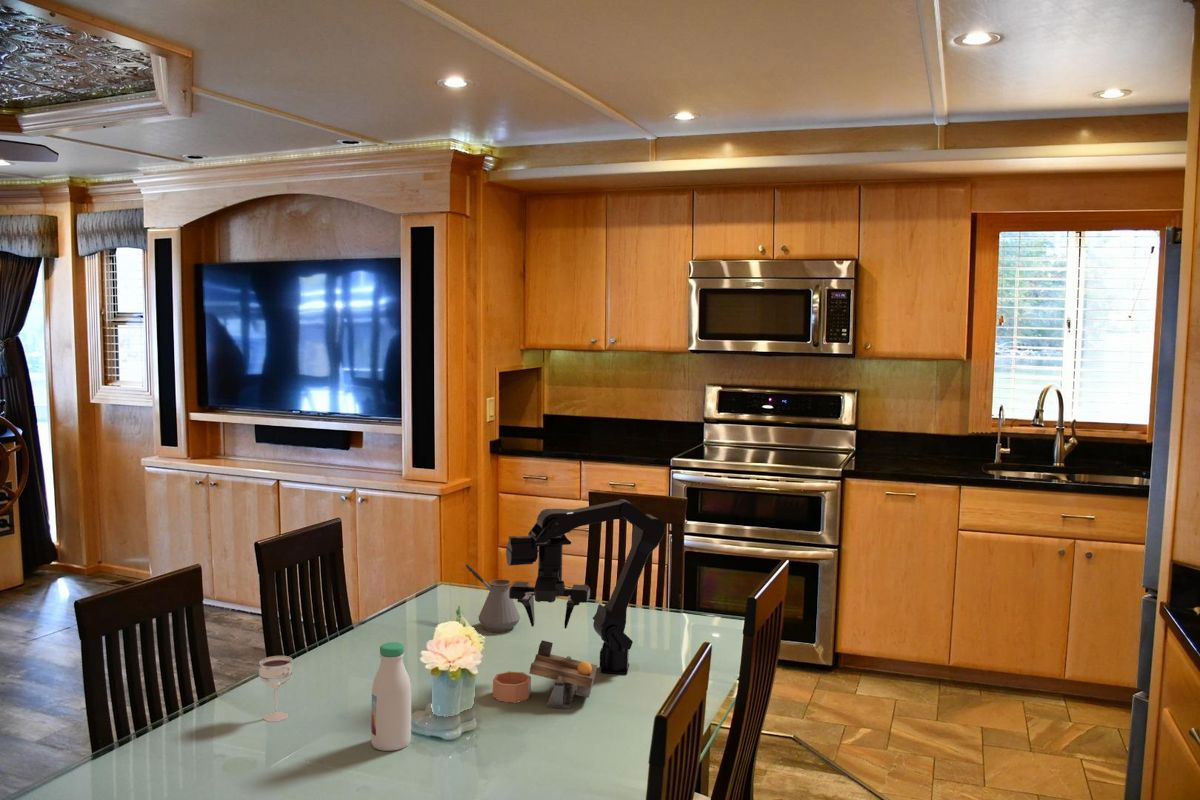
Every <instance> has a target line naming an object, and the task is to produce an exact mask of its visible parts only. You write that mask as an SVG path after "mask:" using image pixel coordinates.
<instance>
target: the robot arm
mask: <svg viewBox="0 0 1200 800" xmlns="http://www.w3.org/2000/svg"><path fill="white" fill-rule="evenodd" d="M619 519H625V520H626V521H627V522H628V523H630V524H631V525H632V526H633V527H632V528H633V529H632V532H631V547H630V549H629V553H628V554H627V557H626V559H625V562H624V564H623V567H622V570H620V571H621V572H620V574H619V576H618V579H617V581H616V584H615V586H614V589H613V592H612V594H611V595H610V598H609V600H608V601H607V602H606V603H605V604H604V605H602V604H601V603H600V604H599V603H598V606H597V609H596V613H595V614H594V615H593V617H592V620H593V629H594V631H595V633H596V634H597V635H598V636H599V637H600V638H601V641H603V643H602V645H601V646H602V647H601V648H600V650H599V668H600V673H602V674H614V675H615V674H616V675H617V674H618V675H627V674H628V672H629V669H630V663H629V657H630V656H629V652H630V650H631V648H632V646H633V639H631V638H630V637H629V636H628V635H627V634H626V633H625V629H626V624H627V612H628V611H627V610H628V606H629V604H630V601H631V599H632V597H633V594H634V592H635V589H636V586H637V585H638V583H639V579H640V577H641V574H642V572H643V569H644V568H645V565H646V562H647V560H648V558H649V555H651V553H652V552H653V551H655V549H657V547H658V546H659V544H660V543H661V541H662V539H663V538H664V536H665V533H666V528H665V525H664V523H663V522H662V520H660V519H658V518H657V517H655V516H653V515H651V514H648V513H644V512H643V511H641V510H640V509H638V508H637V507H636V506H634V505H633V503H632V502H630V501H628V500H626V499H624V498H623V499H622V498H620V499H617V500H615V501H609V502H605V503H600V504H593V505H589V506H585V507H579V508H572V509H571V508H569V509H567V508H546V509H542V510H541V511H540V512H539V514H538V515H537V518H536V522H535V523H534V525H533V526H532V527H531V530H529V532H528V534H527V535H524V536H523V535H521V536H517V535H510V536H508V542H507V545H506V548H505V556H506V563H507V565H508V566H510V567H512V566H528V565H533V564H534V563H536V562H537V560H538V562H537V563H538V564H537V566H538V568H537V570H538V571H537V577H536V580H535V585H534V586H531V583H530V582H529V581H515V582H513V584H511V585H510V587H509V598H510V599H513V600H517V602H518V603H521V604H522V605H523V607H524V608H525V611H526V613H527V616H528V620H529V623H530V625H531V627H532V628H533V627H534V626H535V603H534V601H535V602H538V603H541V602H546V603H547V602H548V603H554V602H556V598H559V597H566V598H568V599H567V601H566V609H565V614H564V615H565V616H564V624H563V625H564V629H567V628H568V625H569V622H570V620H571V619H570V618H571V616H572V613H573V611H574V607H575V606H579V605H580V604H582V603H583V604H584V603H586V604H587V603H588V601H589V599H590V597H591V587H590V586H589V585H588V584H573V585H572V587H571V588H568V587H567V588H566V587H565V585H566V584H565V581H564V580H563V547H564V546H565V545H566V546H568V545H571V544H572V541H571V540H569V539H568V538H567V536H566V535H565V534H568V533H570V532H571V531H573V530H575V529H577V528H579V527H583V526H589V525H593V524H598V523H599V524H600V523H603V522H609V521H613V520H619Z"/></svg>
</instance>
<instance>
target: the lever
mask: <svg viewBox="0 0 1200 800" xmlns="http://www.w3.org/2000/svg"><path fill="white" fill-rule="evenodd" d="M553 644H554V643H553V642H552V641H548V640H543V639H542V640H541V641H540V644H539V646H538V651H537V654H535V658H534V660H533V662H531V663H530V668H529V672H528V675H529V674H530V675H534V676H537V677H541V678H542V677H543V678H547V679H550V680H555V681H556V682H557V683H561V682H566V683H571V684H575V685H577V689H576V693H575V695H577V696H579V697H583V698H584V697H585V698H589V697H590V695H591V692H592V689H593V686H594V682H595V679H596V673H597V669H598V664H593V663H590V664H591V666H592V671H591V673H590V674H589V675H588V676H584V675H580V674H579V672H578V665H579V664H580V663H581V662H582V661H580V660H577V659H573V658H572V656H569V655H567V656H566V657H565V656H564V657H563V656H559V655H556V654H552V648H553ZM575 695H574V696H575Z"/></svg>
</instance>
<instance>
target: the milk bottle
mask: <svg viewBox="0 0 1200 800" xmlns="http://www.w3.org/2000/svg"><path fill="white" fill-rule="evenodd" d="M404 650H405V646H404V644H403V643H402V642H396V641H393V642H391V641H389V642H385V643H382V644H381V645H380V647H379V654H380V655H379V658H380V664H379V667H378V670H377V672H376V674H375V676H374V679H373V683H372V688H371V716H370V717H371V722H370V724H371V725H370V727H371V728H370V729H371V730H370V731H371V734H370V735H371V745H372V747H373V748H374V749H376V750H379V751H384V752H385V751H386V752H393V751H398V750H402V749H404V748H406V747H407V746H408V745H409V744H410V742H411V740H412V683H411V679H410V676H409V673H408V672H407V671H408V670H406V667H405V664H404V660H403V657H404Z"/></svg>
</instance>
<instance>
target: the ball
mask: <svg viewBox="0 0 1200 800" xmlns="http://www.w3.org/2000/svg"><path fill="white" fill-rule="evenodd" d="M591 664H592V663H590V661H586V660H583V661H581V663H580V664H579V665H578V672H579V674H580V675H584V676H588V675H589V674H590V673H591V671H592V666H591Z"/></svg>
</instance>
